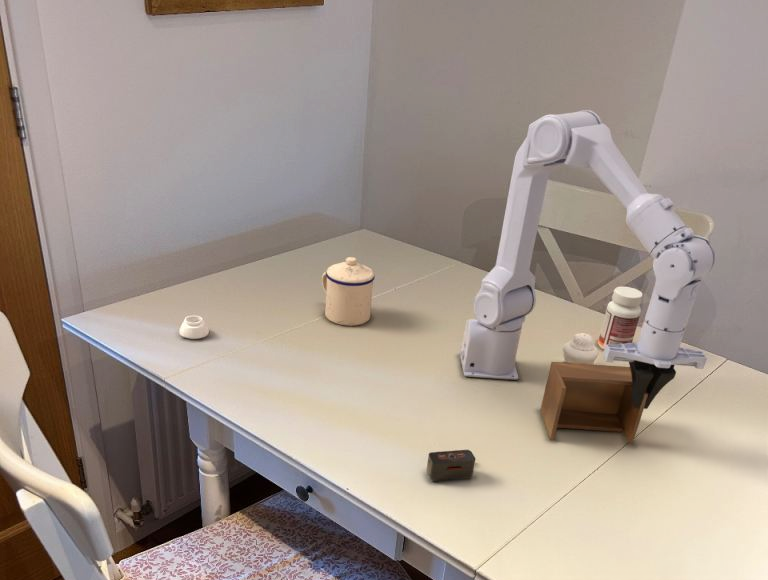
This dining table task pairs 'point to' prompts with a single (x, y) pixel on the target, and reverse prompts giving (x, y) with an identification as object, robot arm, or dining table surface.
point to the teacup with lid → (348, 292)
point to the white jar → (193, 328)
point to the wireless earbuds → (450, 465)
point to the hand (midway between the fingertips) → (639, 405)
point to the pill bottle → (621, 317)
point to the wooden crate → (590, 399)
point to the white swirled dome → (580, 350)
